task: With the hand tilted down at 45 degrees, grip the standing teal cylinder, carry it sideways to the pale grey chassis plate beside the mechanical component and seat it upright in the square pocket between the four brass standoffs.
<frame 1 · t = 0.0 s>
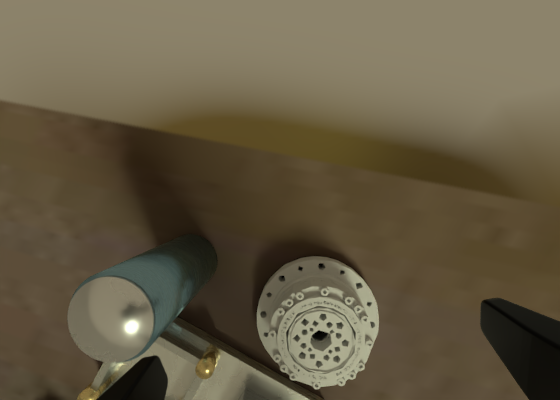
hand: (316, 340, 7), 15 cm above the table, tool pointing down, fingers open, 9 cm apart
chassis: (211, 388, 24), on the table
cylinder: (191, 260, 23), on the table
mechanical component: (315, 310, 24), on the table
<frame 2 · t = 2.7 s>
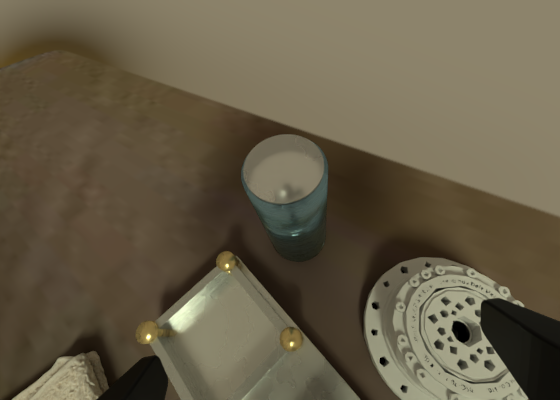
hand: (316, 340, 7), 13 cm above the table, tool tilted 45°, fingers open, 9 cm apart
chassis: (272, 396, 18), on the table
cylinder: (298, 235, 23), on the table
mechanical component: (435, 332, 19), on the table
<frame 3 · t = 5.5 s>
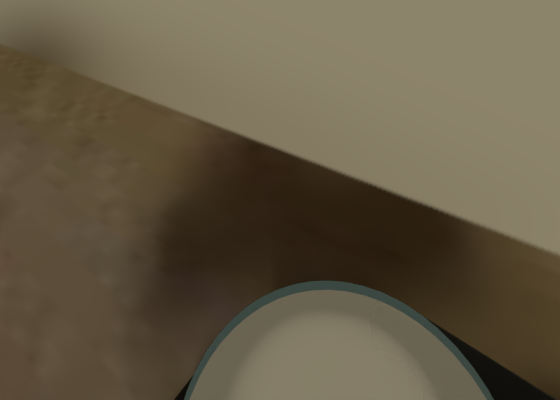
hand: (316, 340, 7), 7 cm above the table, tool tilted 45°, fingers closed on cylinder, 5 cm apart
cylinder: (325, 373, 13), on the table, touching gripper
when the fingers open (9 cm above the table, at t = 8.7 s): cylinder drops 1 cm, resting on chassis.
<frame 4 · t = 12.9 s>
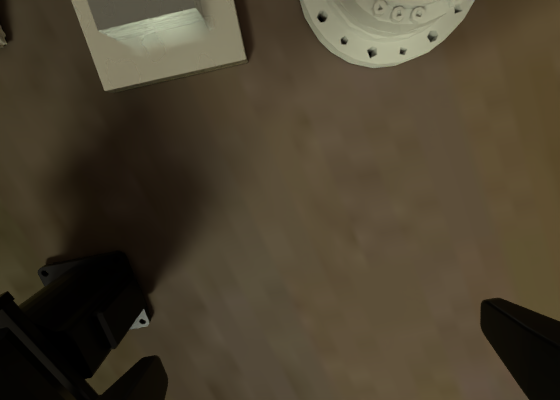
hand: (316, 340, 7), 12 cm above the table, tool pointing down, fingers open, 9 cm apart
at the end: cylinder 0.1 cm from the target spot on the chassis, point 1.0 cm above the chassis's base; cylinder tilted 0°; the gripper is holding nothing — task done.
